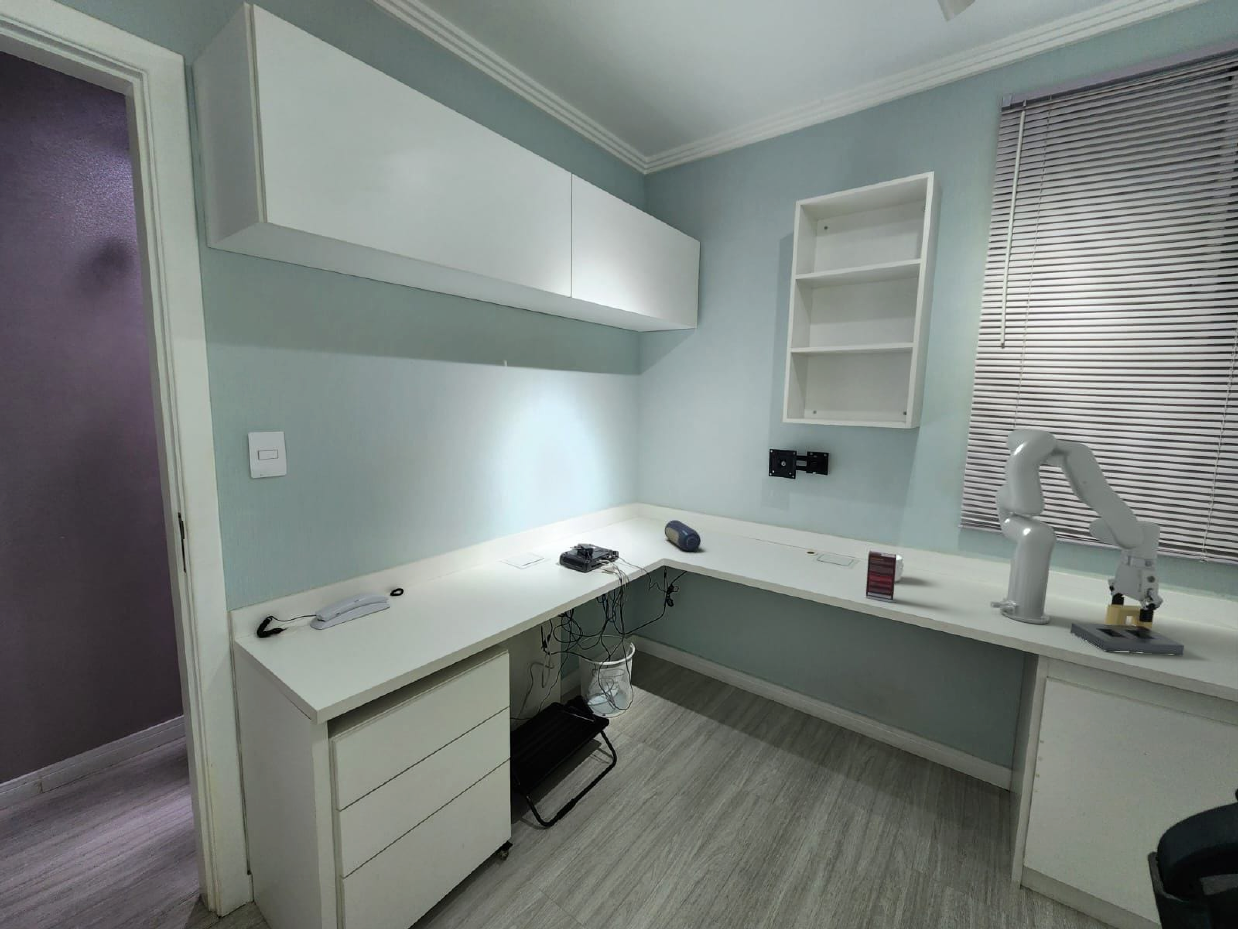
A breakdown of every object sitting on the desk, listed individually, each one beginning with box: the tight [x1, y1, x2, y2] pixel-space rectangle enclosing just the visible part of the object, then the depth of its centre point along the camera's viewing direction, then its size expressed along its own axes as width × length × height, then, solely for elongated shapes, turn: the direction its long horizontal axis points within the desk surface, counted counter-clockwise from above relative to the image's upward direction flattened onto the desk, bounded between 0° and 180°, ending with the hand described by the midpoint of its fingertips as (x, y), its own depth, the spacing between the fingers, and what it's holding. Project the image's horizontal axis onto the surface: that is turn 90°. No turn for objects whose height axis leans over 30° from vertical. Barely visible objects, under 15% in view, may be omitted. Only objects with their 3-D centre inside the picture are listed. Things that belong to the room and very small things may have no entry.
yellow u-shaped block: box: [1104, 604, 1155, 630], centre depth 159 cm, size 10×4×6 cm, turn 85°
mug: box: [888, 552, 905, 583], centre depth 197 cm, size 12×10×9 cm
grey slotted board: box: [1070, 622, 1185, 656], centre depth 148 cm, size 20×12×3 cm, turn 85°
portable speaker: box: [664, 519, 702, 552], centre depth 239 cm, size 25×10×10 cm, turn 16°
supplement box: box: [865, 550, 897, 603], centre depth 178 cm, size 9×5×16 cm, turn 60°
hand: (1130, 615), depth 159 cm, fingers open, 9 cm apart
